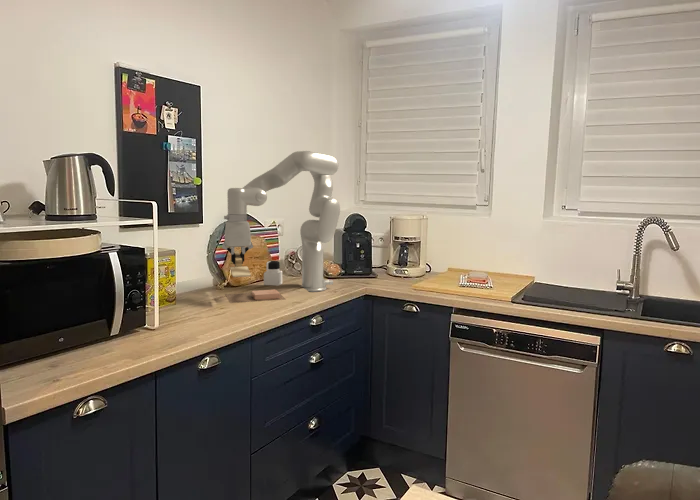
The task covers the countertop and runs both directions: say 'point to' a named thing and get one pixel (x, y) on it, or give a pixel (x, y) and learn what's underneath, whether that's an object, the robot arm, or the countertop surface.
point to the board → (246, 298)
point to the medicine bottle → (273, 273)
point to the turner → (239, 267)
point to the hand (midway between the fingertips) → (237, 263)
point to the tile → (265, 294)
